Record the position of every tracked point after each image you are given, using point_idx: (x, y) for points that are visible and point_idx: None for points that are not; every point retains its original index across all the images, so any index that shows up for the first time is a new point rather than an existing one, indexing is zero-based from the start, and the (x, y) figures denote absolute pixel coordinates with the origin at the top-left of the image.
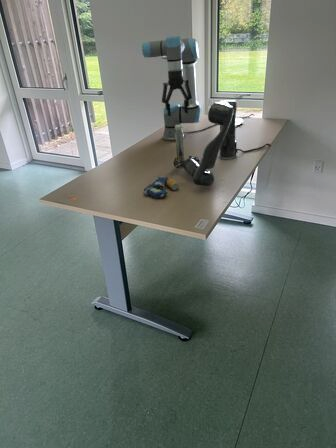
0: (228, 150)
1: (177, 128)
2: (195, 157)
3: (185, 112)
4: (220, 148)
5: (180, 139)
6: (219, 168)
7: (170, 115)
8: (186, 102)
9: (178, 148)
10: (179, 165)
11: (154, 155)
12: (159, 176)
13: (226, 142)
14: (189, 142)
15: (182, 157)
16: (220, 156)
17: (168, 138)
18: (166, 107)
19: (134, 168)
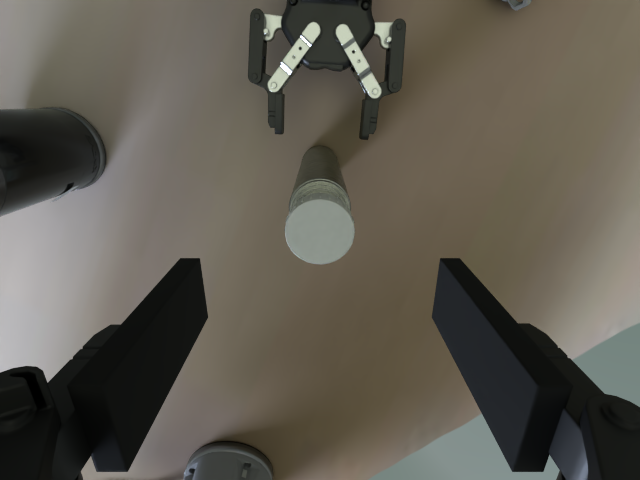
0: (32, 112)
1: (341, 202)
2: (261, 67)
3: (202, 292)
4: (70, 159)
5: (321, 172)
6: (151, 13)
7: (446, 261)
8: (107, 361)
9: (336, 167)
10: (385, 23)
11: (375, 339)
12: None
13: (3, 121)
14: (185, 400)
15: (315, 152)
16: (99, 152)
17: (259, 461)
18: (561, 352)
19: (516, 245)
